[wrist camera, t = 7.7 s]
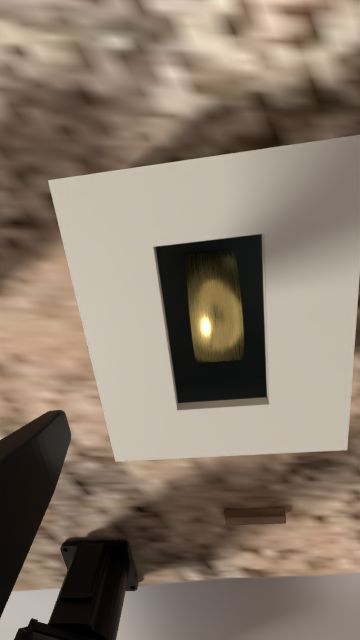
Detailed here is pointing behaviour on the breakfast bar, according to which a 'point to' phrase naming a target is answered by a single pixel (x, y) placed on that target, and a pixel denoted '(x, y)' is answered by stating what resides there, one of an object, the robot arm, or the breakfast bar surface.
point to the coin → (215, 306)
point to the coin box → (256, 295)
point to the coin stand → (255, 516)
